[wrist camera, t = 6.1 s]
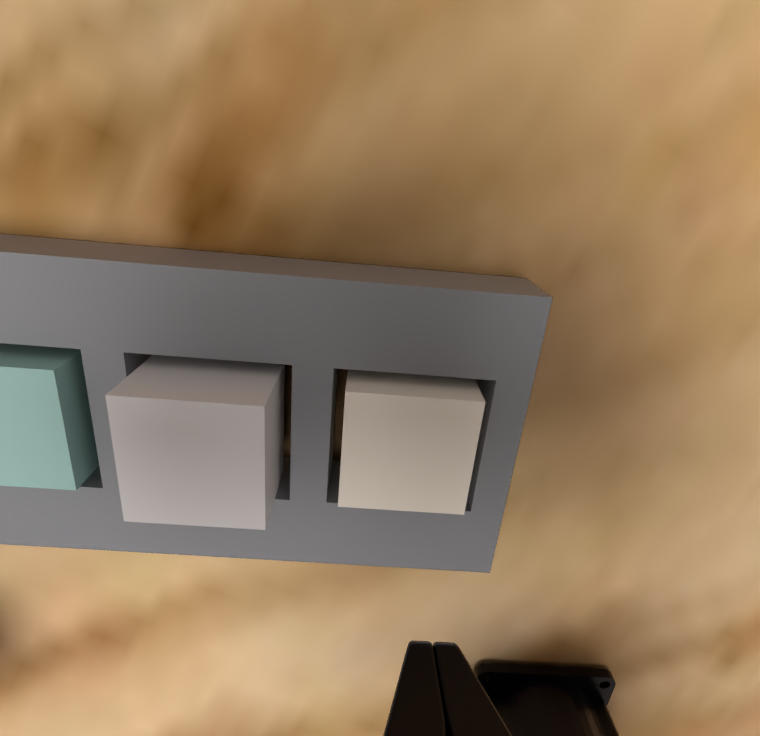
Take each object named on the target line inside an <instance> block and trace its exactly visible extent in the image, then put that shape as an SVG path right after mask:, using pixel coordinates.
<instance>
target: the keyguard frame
mask: <svg viewBox="0 0 760 736" xmlns="http://www.w3.org/2000/svg"><path fill="white" fill-rule="evenodd" d="M552 298H553V297H551V296H550V295H549V294H547V293H546V292H544V291H543V290H542V289H540V288H539V287H538V286H536V285H535V284H534V283H532V282H531V281H530V280H528V279H527V278H519V277H507V276H495V275H483V274H471V273H460V272H448V271H436V270H424V269H412V268H400V267H389V266H377V265H365V264H353V263H341V262H330V261H318V260H306V259H294V258H282V257H271V256H259V255H247V254H235V253H223V252H211V251H200V250H188V249H176V248H164V247H152V246H141V245H129V244H117V243H105V242H93V241H81V240H70V239H58V238H46V237H34V236H22V235H11V234H0V343H5V344H19V345H32V346H45V347H58V348H72V349H80V350H81V356H82V362H83V368H84V374H85V380H86V386H87V393H88V399H89V405H90V411H91V417H92V423H93V430H94V436H95V442H96V448H97V454H98V460H99V466H98V467H97V468H96V470H95V471H94V472H93V473H92V474H91V475H90V476H89V477H88V478H87V479H86V480H85V482H84V483H83V484H82V485H81V486H80V487H79V488H78V489H77V490H62V489H46V488H30V487H15V486H0V544H7V545H24V546H41V547H59V548H76V549H93V550H110V551H127V552H144V553H161V554H178V555H195V556H212V557H230V558H247V559H264V560H281V561H298V562H315V563H332V564H349V565H366V566H383V567H401V568H418V569H435V570H452V571H469V572H486V573H490V570H491V565H492V561H493V557H494V552H495V548H496V544H497V539H498V535H499V530H500V526H501V522H502V517H503V513H504V509H505V504H506V500H507V495H508V491H509V487H510V482H511V478H512V473H513V469H514V465H515V460H516V456H517V452H518V447H519V443H520V438H521V434H522V430H523V425H524V421H525V417H526V412H527V408H528V403H529V399H530V395H531V390H532V386H533V382H534V377H535V373H536V368H537V364H538V360H539V355H540V351H541V346H542V342H543V338H544V333H545V329H546V325H547V320H548V316H549V311H550V307H551V303H552ZM152 355H164V356H178V357H191V358H204V359H217V360H231V361H244V362H257V363H270V364H284V365H292V403H291V457H284V470H283V473H282V476H281V480H280V483H279V486H278V490H277V493H276V496H275V500H274V503H273V506H272V510H271V513H270V516H269V519H268V523H267V526H266V529H265V530H257V529H240V528H224V527H207V526H191V525H175V524H158V523H142V522H126V521H124V519H123V512H122V505H121V499H120V492H119V485H118V478H117V472H116V465H115V458H114V451H113V444H112V438H111V431H110V424H109V417H108V410H107V404H106V397H105V395H106V394H107V393H108V392H110V391H111V390H112V389H113V388H114V387H115V386H117V385H118V384H119V383H120V382H121V381H122V380H124V379H125V378H126V377H127V376H128V375H130V374H131V373H132V372H133V371H134V370H135V369H137V368H138V367H139V366H140V365H141V364H143V363H144V362H145V361H146V360H147V359H148V358H150V357H151V356H152ZM338 369H350V370H363V371H377V372H390V373H403V374H416V375H430V376H443V377H456V378H469V379H475V381H476V383H477V385H478V387H479V389H480V391H481V393H482V395H483V398H484V400H485V408H484V413H483V418H482V423H481V429H480V434H479V439H478V444H477V450H476V455H475V460H474V465H473V471H472V476H471V481H470V487H469V492H468V497H467V502H466V508H465V513H464V515H460V514H444V513H428V512H413V511H397V510H381V509H365V508H350V507H338V496H339V480H340V465H341V460H333V444H334V427H335V409H336V391H337V374H338Z"/></svg>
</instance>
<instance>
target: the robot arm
mask: <svg viewBox="0 0 760 736" xmlns="http://www.w3.org/2000/svg"><path fill="white" fill-rule="evenodd" d="M614 687H615V680H614V678H613V676H612V674H611V672H610V671H608V670H605V669H589V668H569V667H549V666H529V665H509V664H490V663H486V664H481V665H479V666H478V667H476V669H475V672H473V670H472V668H471V666H470V665H469V663H468V661H467V660H466V658H465V656H464V655H463V653H462V651H461V650H460V648H459V647H458V646H457V645H456V644H455V643H449V642H435V643H433V645H432V643H430V642H428V641H410V642H409V644H408V647H407V650H406V654H405V658H404V661H403V665H402V669H401V672H400V676H399V680H398V683H397V687H396V691H395V695H394V698H393V702H392V706H391V709H390V713H389V717H388V720H387V724H386V728H385V731H384V735H383V736H619V734H618V732H617V730H616V727H615V725H614V723H613V720H612V718H611V716H610V713H609V711H608V709H607V704H608V702H609V699H610V697H611V694H612V692H613V690H614Z"/></svg>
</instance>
